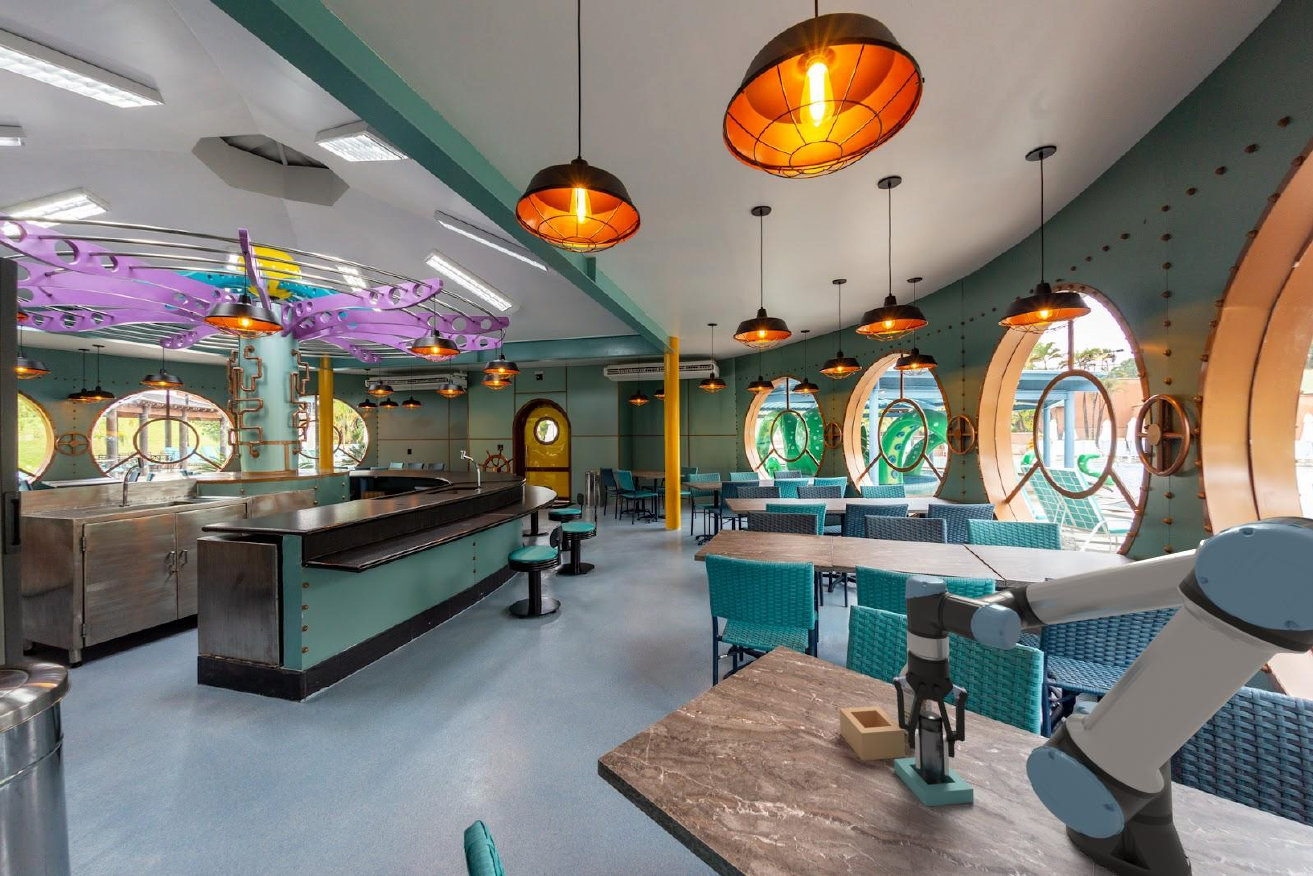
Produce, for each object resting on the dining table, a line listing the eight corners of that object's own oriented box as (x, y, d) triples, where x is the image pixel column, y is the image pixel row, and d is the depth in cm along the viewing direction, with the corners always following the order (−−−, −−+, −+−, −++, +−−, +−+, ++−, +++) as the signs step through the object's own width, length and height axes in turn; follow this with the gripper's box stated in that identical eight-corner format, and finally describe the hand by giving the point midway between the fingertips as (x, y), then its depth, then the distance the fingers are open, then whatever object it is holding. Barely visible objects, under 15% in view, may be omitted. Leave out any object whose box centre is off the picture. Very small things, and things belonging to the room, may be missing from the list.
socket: (904, 757, 104) (904, 730, 104) (862, 760, 103) (861, 733, 103) (879, 730, 114) (878, 706, 114) (840, 733, 113) (839, 708, 113)
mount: (973, 802, 91) (973, 789, 91) (925, 806, 90) (925, 793, 90) (938, 767, 101) (937, 755, 101) (894, 771, 100) (894, 759, 100)
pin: (949, 792, 93) (947, 722, 94) (929, 794, 93) (927, 723, 93) (934, 777, 98) (932, 710, 98) (915, 779, 97) (913, 711, 98)
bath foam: (927, 744, 108) (924, 658, 109) (896, 732, 113) (893, 649, 114) (936, 732, 113) (933, 649, 114) (905, 720, 118) (903, 641, 119)
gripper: (974, 652, 96) (978, 767, 95) (880, 639, 103) (884, 746, 102) (982, 668, 89) (986, 792, 88) (881, 653, 96) (885, 767, 95)
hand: (931, 767), depth 95 cm, fingers closed on pin, 4 cm apart
